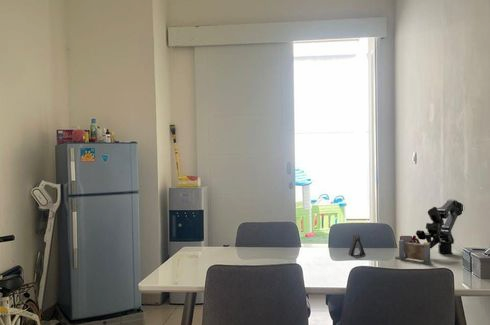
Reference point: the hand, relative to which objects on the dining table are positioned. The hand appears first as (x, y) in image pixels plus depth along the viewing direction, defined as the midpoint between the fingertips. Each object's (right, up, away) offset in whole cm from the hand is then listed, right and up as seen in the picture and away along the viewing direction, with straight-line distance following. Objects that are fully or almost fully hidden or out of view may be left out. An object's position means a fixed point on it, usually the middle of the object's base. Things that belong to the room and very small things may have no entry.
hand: (429, 247), depth 251 cm
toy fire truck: (-3, -7, +20) cm, 22 cm away
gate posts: (-11, -6, -5) cm, 14 cm away
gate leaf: (-9, -6, -5) cm, 11 cm away
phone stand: (-38, -7, +15) cm, 41 cm away
